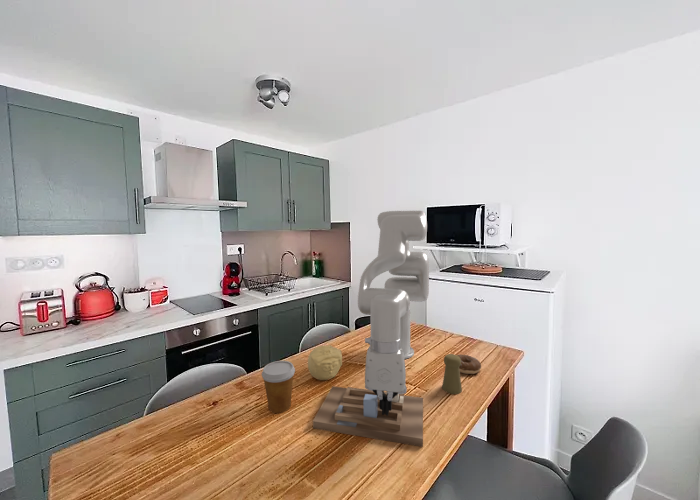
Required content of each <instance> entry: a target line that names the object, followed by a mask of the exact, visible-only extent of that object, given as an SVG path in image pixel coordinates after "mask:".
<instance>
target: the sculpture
mask: <svg viewBox="0 0 700 500" xmlns="http://www.w3.org/2000/svg"><path fill="white" fill-rule="evenodd" d="M342 354H343V353H342V350H341V348H338V347H335V346H332V344H331V345H330V344H329V345H319V346H317V347H315V348H314V349H312V350H311V352H310V353H309V355H308V358H307V369H308V371H309V373H310V375H311V377H313V378H315V379H317V380H318V381H326V380H331V379H333V378H334V377H335V376H336V375H337V374H338V373H339V370H340V368H341V366H342V365H343V355H342Z"/></svg>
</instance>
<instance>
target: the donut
mask: <svg viewBox="0 0 700 500" xmlns="http://www.w3.org/2000/svg"><path fill="white" fill-rule="evenodd" d="M456 355H457V356H459V357H460V359H461V365H460V367H459V370H460V374H465V375H466V374H467V375H474V374H478V373H479V372H481V369H482V364H481V362H480V360H479V359H477V358H476V357H474V356H471V355H469V354H468V355H467V354H456Z"/></svg>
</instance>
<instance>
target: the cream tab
mask: <svg viewBox="0 0 700 500" xmlns="http://www.w3.org/2000/svg"><path fill="white" fill-rule="evenodd" d="M386 392H387V393H388V391H386ZM392 402H399V394H397V395H396V396H395V397H394V398H393V399H392Z"/></svg>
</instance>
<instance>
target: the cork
mask: <svg viewBox="0 0 700 500" xmlns="http://www.w3.org/2000/svg"><path fill="white" fill-rule="evenodd" d="M457 355H458V354H453V353H448V354H445V356H444V357H443V364H444V365H445V368H444V374H443V378H442V379H443V380H442V386H441V388H442V390H443V391H444V392H446V393H447V394H451V395H459V394H461V393H462V391H463V388H462V381H461V379H462V378H461V372H460V370H459V367H460V365H461V359H460V357H459V356H457Z"/></svg>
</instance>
